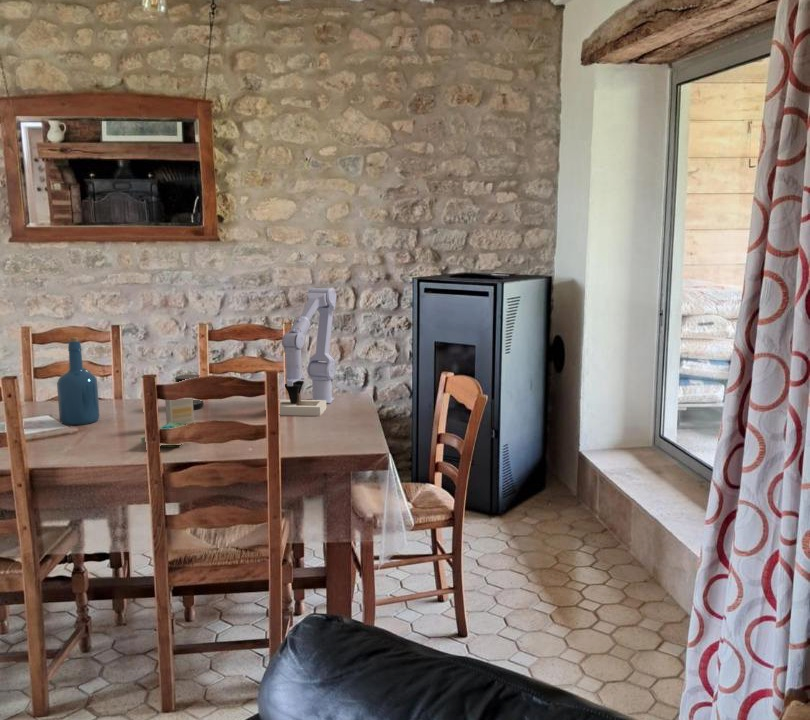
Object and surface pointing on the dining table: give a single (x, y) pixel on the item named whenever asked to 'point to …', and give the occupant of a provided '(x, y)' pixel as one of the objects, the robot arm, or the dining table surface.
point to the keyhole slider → (298, 400)
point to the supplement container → (196, 403)
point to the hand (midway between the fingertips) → (294, 401)
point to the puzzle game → (167, 426)
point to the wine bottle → (77, 390)
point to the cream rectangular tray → (303, 408)
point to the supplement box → (179, 411)
